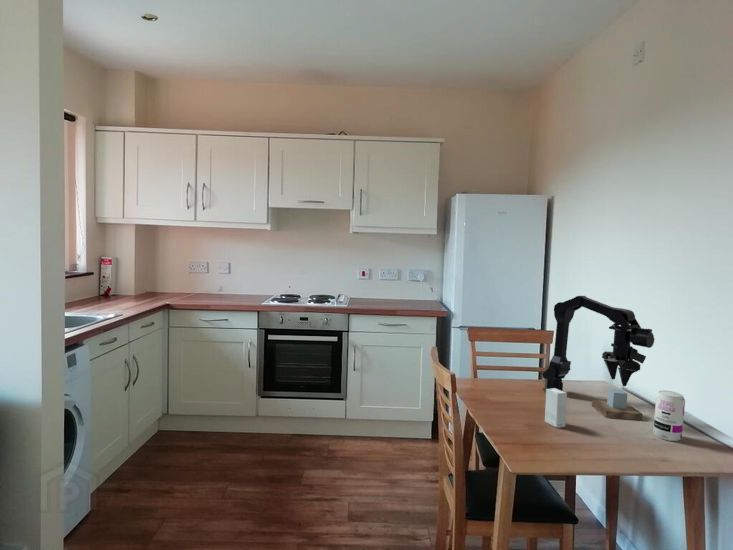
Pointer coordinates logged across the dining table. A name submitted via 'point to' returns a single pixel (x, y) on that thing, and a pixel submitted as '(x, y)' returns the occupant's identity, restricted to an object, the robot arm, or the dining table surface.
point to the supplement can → (669, 415)
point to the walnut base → (616, 411)
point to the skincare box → (556, 407)
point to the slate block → (617, 398)
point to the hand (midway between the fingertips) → (618, 382)
